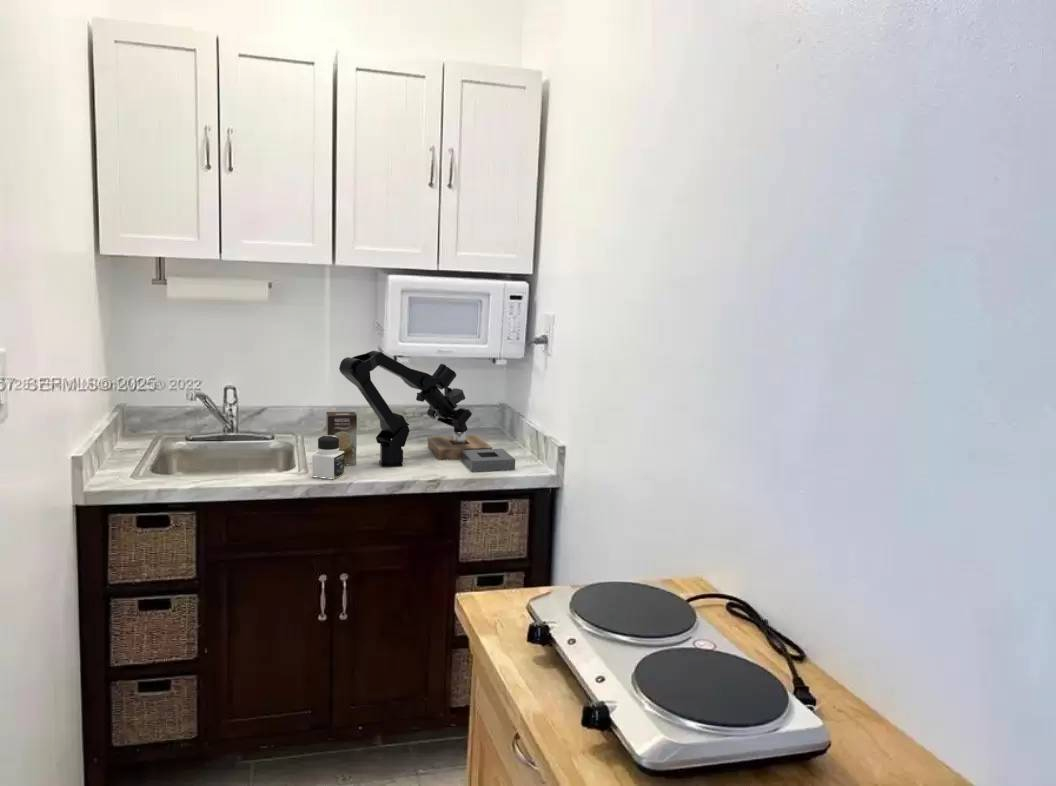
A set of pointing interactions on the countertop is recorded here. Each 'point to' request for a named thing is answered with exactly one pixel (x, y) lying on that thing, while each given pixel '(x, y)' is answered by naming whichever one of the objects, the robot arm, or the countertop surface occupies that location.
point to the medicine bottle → (328, 458)
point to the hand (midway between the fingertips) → (462, 429)
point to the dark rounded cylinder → (458, 436)
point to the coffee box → (344, 432)
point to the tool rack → (454, 446)
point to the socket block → (487, 460)
